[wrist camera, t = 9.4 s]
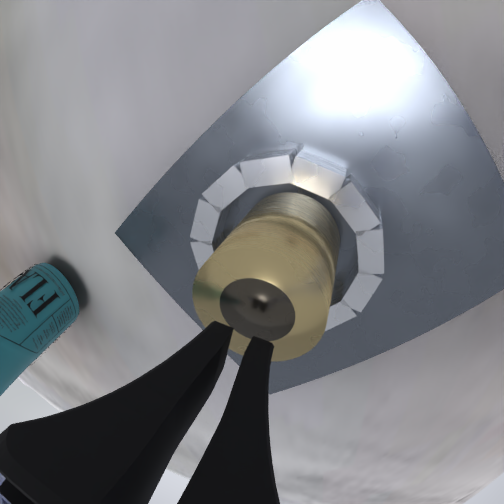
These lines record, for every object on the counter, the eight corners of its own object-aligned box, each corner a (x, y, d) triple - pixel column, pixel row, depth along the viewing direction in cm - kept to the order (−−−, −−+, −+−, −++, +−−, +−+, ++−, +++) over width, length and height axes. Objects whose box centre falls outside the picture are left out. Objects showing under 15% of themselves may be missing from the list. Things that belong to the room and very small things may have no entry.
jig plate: (528, 259, 13) (545, 282, 11) (273, 384, 24) (264, 409, 22) (371, -1, 11) (373, -17, 8) (123, 226, 21) (100, 242, 19)
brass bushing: (352, 208, 15) (346, 275, 10) (324, 292, 17) (305, 375, 12) (251, 181, 16) (196, 230, 11) (237, 266, 18) (190, 336, 13)
